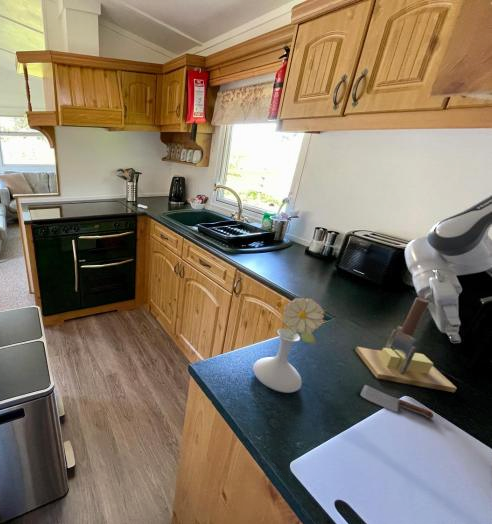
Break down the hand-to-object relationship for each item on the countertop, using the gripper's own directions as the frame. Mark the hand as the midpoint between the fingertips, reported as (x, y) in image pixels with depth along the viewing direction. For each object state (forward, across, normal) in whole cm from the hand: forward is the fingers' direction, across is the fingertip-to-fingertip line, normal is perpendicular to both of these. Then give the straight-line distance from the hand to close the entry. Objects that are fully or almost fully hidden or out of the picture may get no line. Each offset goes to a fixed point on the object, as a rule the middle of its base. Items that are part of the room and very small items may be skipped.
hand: (456, 333), depth 72 cm
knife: (+3, +2, +12) cm, 12 cm away
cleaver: (+20, -4, +16) cm, 25 cm away
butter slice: (+5, +5, +15) cm, 17 cm away
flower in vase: (+20, -20, +37) cm, 46 cm away
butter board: (+6, +8, +13) cm, 16 cm away
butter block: (+5, +8, +11) cm, 14 cm away
